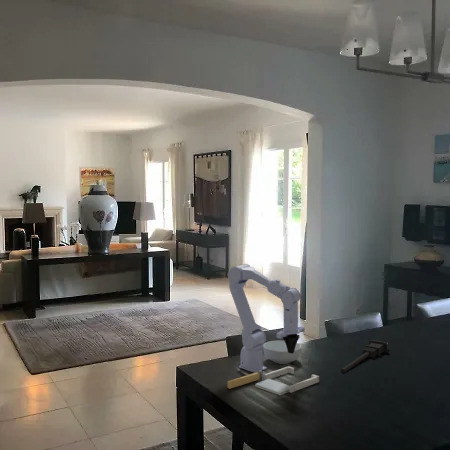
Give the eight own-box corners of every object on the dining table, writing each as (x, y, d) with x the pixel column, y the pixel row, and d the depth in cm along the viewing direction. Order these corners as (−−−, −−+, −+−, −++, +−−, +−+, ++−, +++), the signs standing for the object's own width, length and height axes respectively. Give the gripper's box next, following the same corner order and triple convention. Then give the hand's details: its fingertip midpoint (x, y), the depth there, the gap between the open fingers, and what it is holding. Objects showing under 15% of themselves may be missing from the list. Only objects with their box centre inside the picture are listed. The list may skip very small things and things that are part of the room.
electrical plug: (391, 350, 240) (391, 339, 239) (352, 379, 208) (352, 367, 207) (374, 347, 245) (373, 336, 245) (333, 374, 213) (333, 363, 213)
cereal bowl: (289, 370, 214) (289, 353, 213) (255, 362, 224) (255, 346, 223) (308, 359, 227) (308, 343, 227) (276, 353, 237) (276, 337, 237)
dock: (254, 379, 203) (254, 373, 203) (283, 369, 214) (283, 364, 214) (289, 393, 189) (289, 387, 189) (319, 381, 200) (319, 376, 200)
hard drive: (255, 383, 196) (280, 392, 187) (269, 378, 201) (294, 386, 193) (255, 388, 196) (280, 396, 187) (269, 382, 202) (294, 390, 193)
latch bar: (260, 377, 205) (259, 369, 204) (263, 378, 203) (263, 371, 203) (226, 387, 194) (226, 379, 194) (230, 389, 192) (230, 381, 192)
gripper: (285, 324, 196) (285, 358, 197) (310, 317, 206) (310, 351, 207) (272, 320, 202) (272, 354, 203) (297, 314, 211) (297, 347, 212)
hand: (290, 352), depth 205 cm, fingers closed
